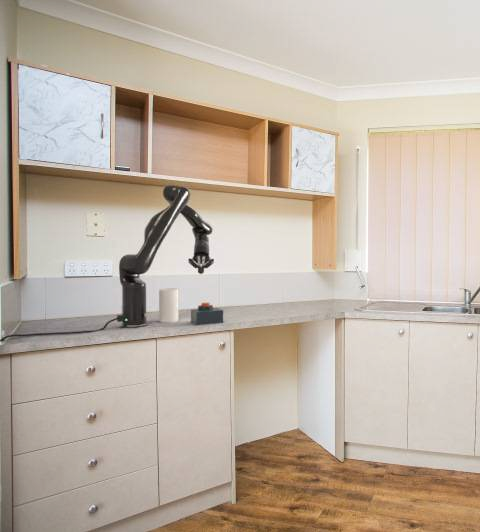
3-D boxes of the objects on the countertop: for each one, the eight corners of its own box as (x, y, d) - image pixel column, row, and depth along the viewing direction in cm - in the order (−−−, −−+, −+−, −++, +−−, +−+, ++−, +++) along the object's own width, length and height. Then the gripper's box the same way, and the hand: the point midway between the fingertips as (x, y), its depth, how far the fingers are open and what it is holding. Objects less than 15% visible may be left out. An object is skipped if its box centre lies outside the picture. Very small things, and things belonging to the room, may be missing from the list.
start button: (202, 307, 193) (202, 303, 193) (200, 306, 196) (200, 302, 196) (210, 306, 195) (210, 303, 195) (208, 305, 198) (208, 302, 198)
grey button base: (196, 325, 186) (196, 308, 185) (190, 321, 194) (190, 305, 194) (223, 322, 193) (223, 306, 193) (216, 319, 202) (216, 304, 202)
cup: (162, 319, 199) (162, 288, 198) (180, 319, 200) (180, 288, 200) (156, 322, 191) (156, 289, 190) (174, 322, 192) (174, 289, 192)
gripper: (187, 244, 212) (186, 268, 201) (214, 245, 218) (214, 268, 207) (188, 254, 217) (187, 277, 206) (214, 254, 223) (214, 277, 212)
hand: (200, 272), depth 207 cm, fingers closed
